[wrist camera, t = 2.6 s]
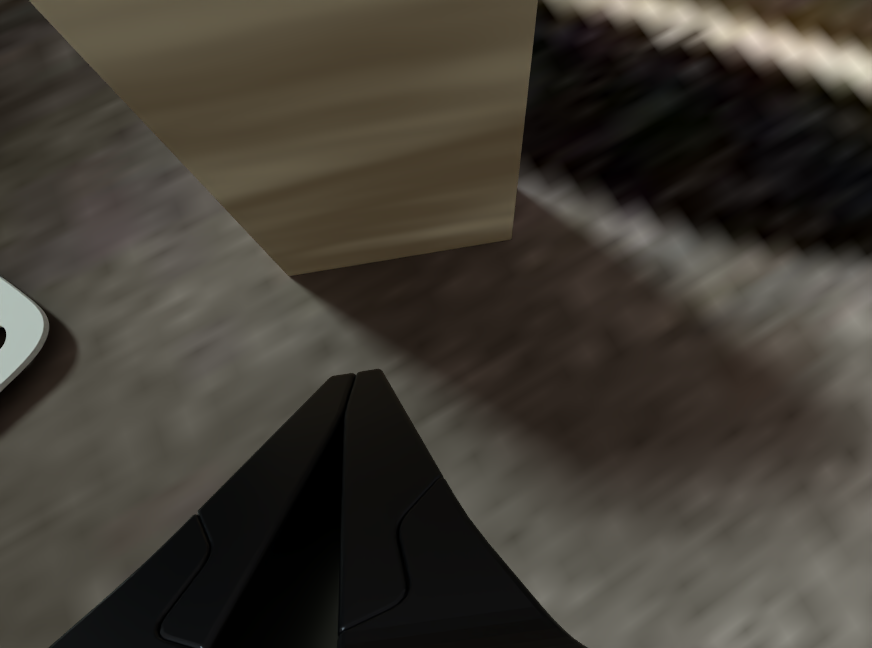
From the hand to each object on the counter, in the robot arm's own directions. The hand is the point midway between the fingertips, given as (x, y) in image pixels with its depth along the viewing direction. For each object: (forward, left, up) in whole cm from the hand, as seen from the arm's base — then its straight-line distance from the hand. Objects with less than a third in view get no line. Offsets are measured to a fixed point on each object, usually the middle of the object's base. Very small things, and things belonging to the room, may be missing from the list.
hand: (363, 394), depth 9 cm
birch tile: (+7, -4, -9) cm, 12 cm away
